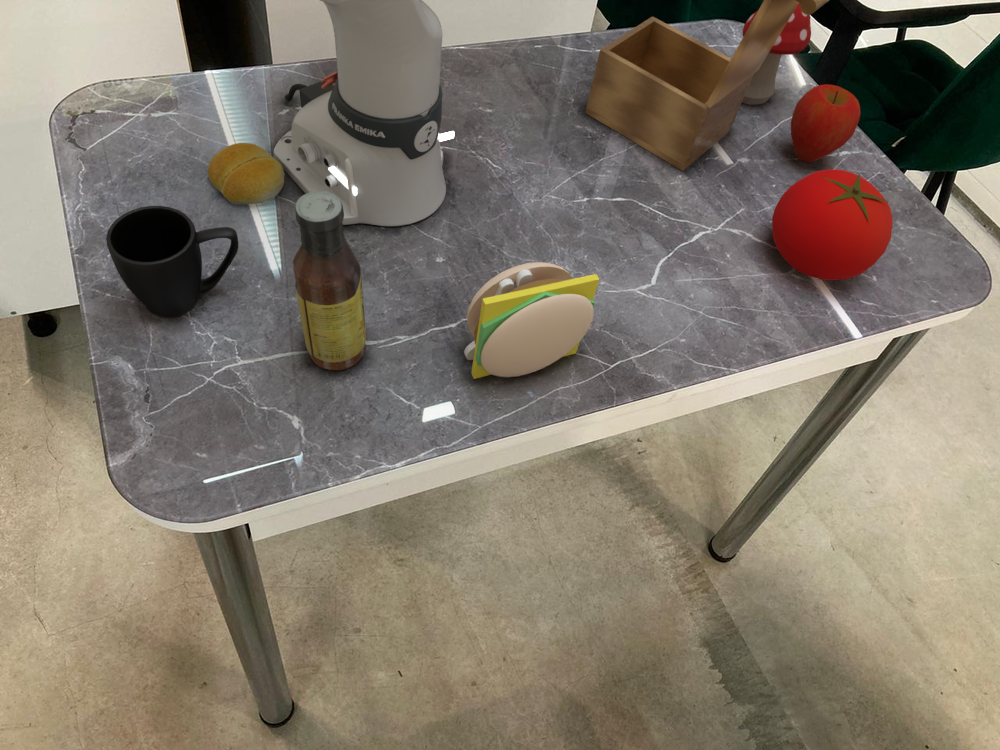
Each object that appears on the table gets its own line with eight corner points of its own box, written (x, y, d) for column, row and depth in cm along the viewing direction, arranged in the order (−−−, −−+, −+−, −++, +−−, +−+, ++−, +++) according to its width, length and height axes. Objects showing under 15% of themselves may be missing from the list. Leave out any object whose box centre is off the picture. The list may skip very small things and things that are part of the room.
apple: (831, 144, 116) (867, 78, 107) (837, 182, 111) (876, 116, 102) (773, 133, 116) (805, 66, 107) (777, 170, 111) (811, 104, 102)
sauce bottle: (378, 351, 84) (377, 210, 68) (333, 384, 81) (320, 245, 65) (336, 316, 87) (325, 172, 71) (291, 347, 83) (269, 204, 67)
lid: (777, -24, 85) (813, 1, 84) (828, -60, 92) (863, -37, 91) (705, 104, 100) (735, 127, 99) (753, 66, 106) (782, 87, 105)
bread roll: (241, 218, 93) (236, 191, 90) (200, 176, 97) (193, 149, 93) (300, 190, 97) (297, 164, 94) (259, 150, 101) (254, 124, 97)
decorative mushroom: (763, 74, 124) (804, -20, 112) (792, 108, 120) (838, 14, 108) (708, 81, 122) (744, -15, 109) (736, 116, 117) (776, 20, 105)
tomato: (765, 209, 105) (802, 137, 96) (866, 242, 104) (914, 172, 95) (751, 274, 98) (790, 203, 89) (860, 310, 97) (912, 241, 87)
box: (584, 112, 113) (599, 49, 105) (634, 78, 120) (652, 16, 112) (682, 171, 108) (706, 109, 100) (729, 132, 115) (755, 70, 107)
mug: (250, 319, 85) (237, 257, 77) (130, 332, 82) (104, 268, 74) (245, 263, 89) (233, 199, 82) (131, 273, 87) (106, 208, 79)
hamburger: (554, 312, 91) (574, 236, 81) (584, 369, 86) (609, 296, 77) (454, 335, 87) (463, 258, 77) (481, 395, 83) (493, 322, 73)
